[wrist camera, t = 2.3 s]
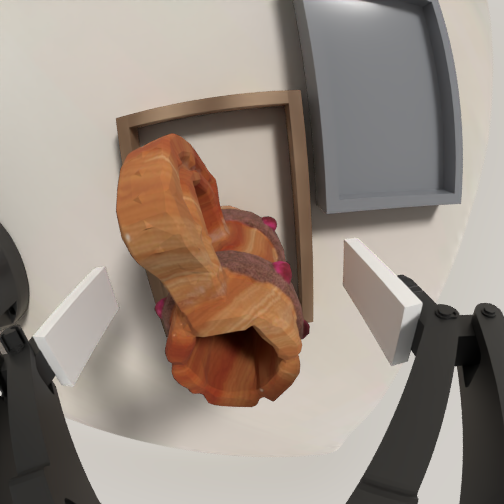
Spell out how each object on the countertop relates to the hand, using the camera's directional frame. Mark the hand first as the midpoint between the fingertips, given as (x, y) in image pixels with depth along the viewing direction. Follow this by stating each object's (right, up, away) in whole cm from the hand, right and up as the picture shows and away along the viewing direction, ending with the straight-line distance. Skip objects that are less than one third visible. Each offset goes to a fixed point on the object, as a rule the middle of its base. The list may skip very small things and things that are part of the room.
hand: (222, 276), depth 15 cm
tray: (+13, +16, +5) cm, 21 cm away
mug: (-1, +4, +9) cm, 10 cm away
